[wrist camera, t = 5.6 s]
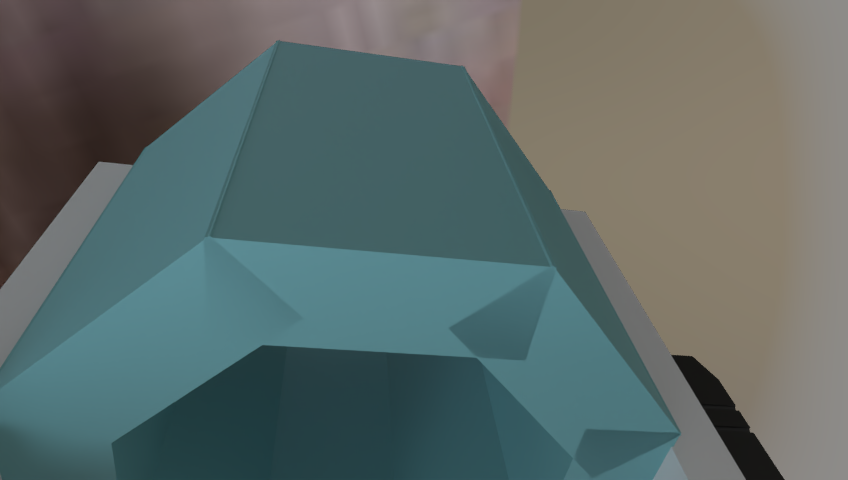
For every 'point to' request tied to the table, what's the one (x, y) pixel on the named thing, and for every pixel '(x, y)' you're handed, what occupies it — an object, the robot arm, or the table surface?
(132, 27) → the table surface
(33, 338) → the ring
